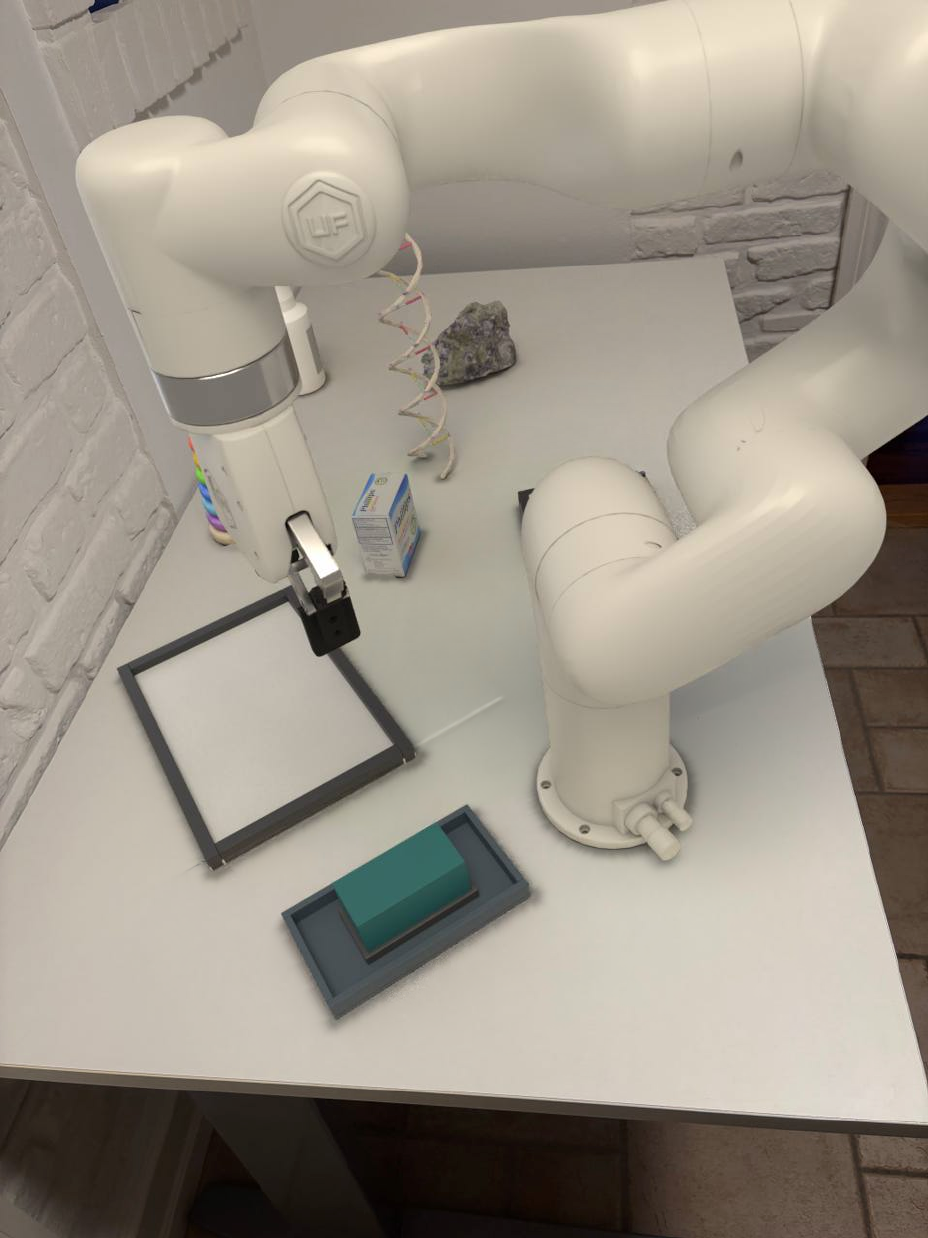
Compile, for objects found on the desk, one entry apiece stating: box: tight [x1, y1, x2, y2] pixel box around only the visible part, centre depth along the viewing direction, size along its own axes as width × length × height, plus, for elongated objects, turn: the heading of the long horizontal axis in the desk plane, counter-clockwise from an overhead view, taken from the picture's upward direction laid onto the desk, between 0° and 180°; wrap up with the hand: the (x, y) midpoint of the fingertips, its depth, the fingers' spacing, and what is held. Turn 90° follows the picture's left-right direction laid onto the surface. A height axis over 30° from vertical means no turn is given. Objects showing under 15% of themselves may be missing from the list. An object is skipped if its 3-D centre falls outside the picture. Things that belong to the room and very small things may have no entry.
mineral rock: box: [420, 300, 517, 386], centre depth 132 cm, size 13×11×10 cm
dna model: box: [375, 232, 456, 480], centre depth 109 cm, size 7×6×30 cm
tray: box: [280, 804, 531, 1021], centre depth 75 cm, size 9×17×2 cm, turn 121°
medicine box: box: [350, 472, 421, 578], centre depth 105 cm, size 8×4×9 cm, turn 168°
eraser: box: [331, 821, 480, 965], centre depth 73 cm, size 10×5×5 cm, turn 121°
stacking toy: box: [188, 436, 236, 546], centre depth 110 cm, size 8×8×19 cm
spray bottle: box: [275, 286, 327, 396], centre depth 134 cm, size 7×7×18 cm
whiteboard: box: [116, 584, 417, 873], centre depth 92 cm, size 28×20×2 cm
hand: (306, 604), depth 63 cm, fingers open, 9 cm apart
